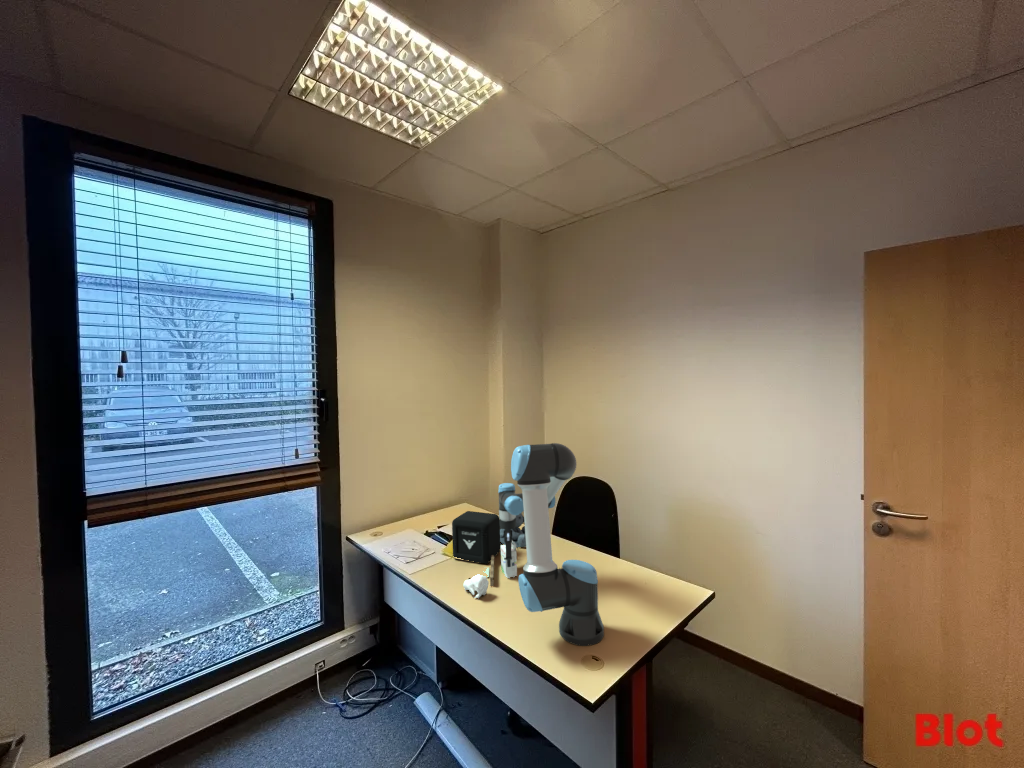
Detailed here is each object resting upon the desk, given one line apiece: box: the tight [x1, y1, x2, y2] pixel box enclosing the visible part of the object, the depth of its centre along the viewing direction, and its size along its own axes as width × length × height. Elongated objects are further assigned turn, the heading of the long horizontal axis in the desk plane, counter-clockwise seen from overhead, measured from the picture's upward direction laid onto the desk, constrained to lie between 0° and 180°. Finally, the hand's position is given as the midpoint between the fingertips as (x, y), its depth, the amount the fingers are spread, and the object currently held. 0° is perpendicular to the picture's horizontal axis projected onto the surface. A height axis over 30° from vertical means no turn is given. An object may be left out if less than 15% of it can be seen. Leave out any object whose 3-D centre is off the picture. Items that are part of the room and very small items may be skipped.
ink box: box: [500, 540, 518, 579], centre depth 182 cm, size 9×5×15 cm, turn 21°
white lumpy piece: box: [463, 574, 490, 599], centre depth 166 cm, size 6×8×12 cm
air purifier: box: [451, 510, 501, 565], centre depth 201 cm, size 20×15×20 cm
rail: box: [489, 555, 495, 587], centre depth 182 cm, size 22×1×4 cm, turn 2°
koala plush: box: [500, 512, 526, 548], centre depth 218 cm, size 17×18×20 cm
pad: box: [483, 567, 490, 578], centre depth 183 cm, size 9×9×1 cm
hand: (508, 568), depth 182 cm, fingers closed on ink box, 9 cm apart
